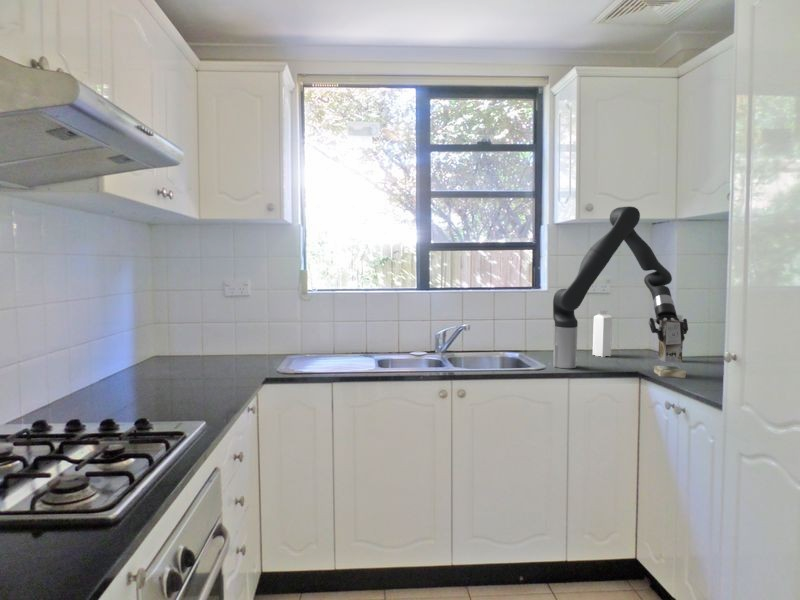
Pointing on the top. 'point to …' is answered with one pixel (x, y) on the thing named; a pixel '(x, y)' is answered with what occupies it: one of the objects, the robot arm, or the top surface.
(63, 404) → the top surface
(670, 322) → the coffee box
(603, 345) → the milk
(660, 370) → the podium
